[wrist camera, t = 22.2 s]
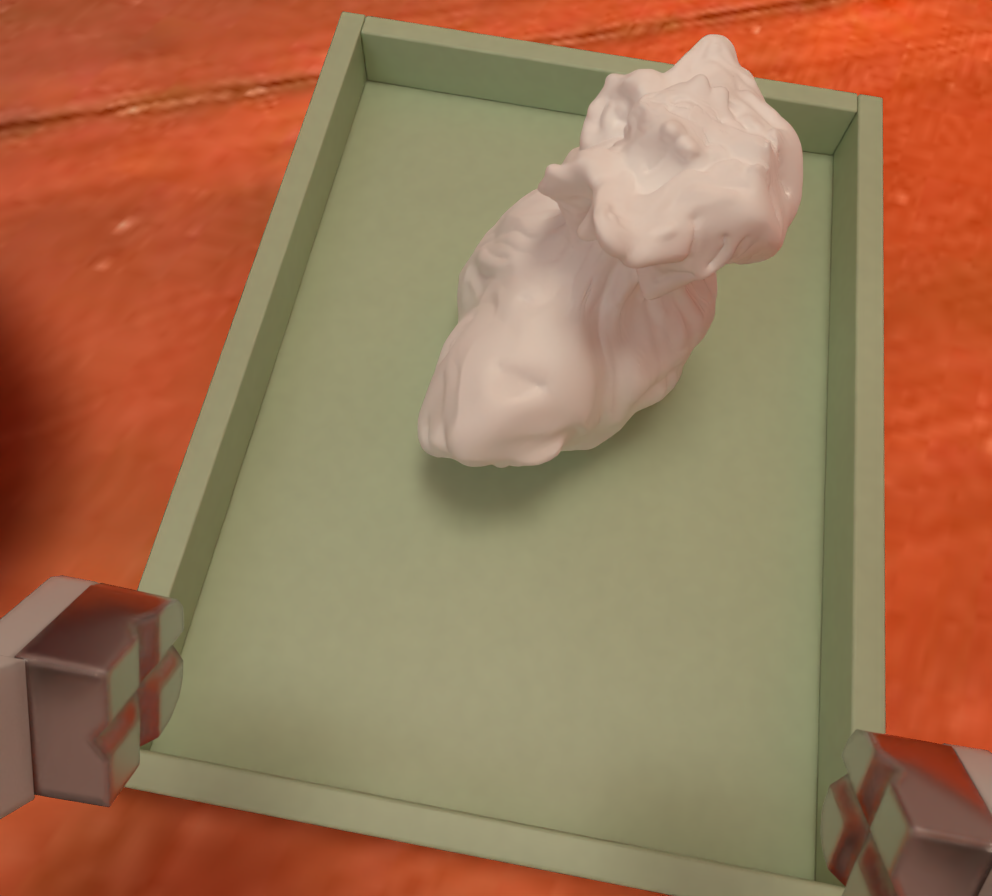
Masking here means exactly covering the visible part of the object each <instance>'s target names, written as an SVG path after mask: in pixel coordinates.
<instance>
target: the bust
mask: <svg viewBox="0 0 992 896" xmlns="http://www.w3.org/2000/svg"><path fill="white" fill-rule="evenodd" d="M802 185H803V153H802V147H801V143H800V140H799V137H798V135H797V133H796V132H795V130H794V129H793V127H792V126H791V125H790V124H789V123H788V122H787V121H786V120H785V119H784V118H783V117H781V116H780V114H779V113H778V112H777V111H776V110H775V109H773V108H772V107H771V106H770V105H768V104H767V103H766V102H765V99H764V97H763V95H762V94H761V92H760V90H759V88H758V86H757V83H756V81H755V79H754V77H753V75H752V74H751V73H750V72H749V71H748V70H746V69H745V68H743V67H741V66H740V64H739V62H738V60H737V55H736V51H735V49H734V46H733V44H732V43H731V41H730V40H729V39H727V38H726V37H724V36H722V35H717V34H711V35H706V36H704V37H703V38H702V39H700V40H699V41H698V43H697V44H696V45H694V46H693V47H692V48H691V49H690V50H689V51H688V52H687V53H686V54H685V55H684V56H683V57H682V58H681V59H680V60H679V61H678V62H677V63H676V64H675V65H674V66H673V67H672V68H671V69H669V70H668V71H666V72H665V73H661V72H658V71H656V70H653V69H638V70H634V71H633V72H631V73H629V74H625V75H623V74H616V73H613V74H610V75H608V76H607V77H606V80H605V84H604V87H603V88H602V90H601V91H600V93H599V94H598V96H597V97H596V98H595V99H594V100H593V101H592V102H591V104H590V105H589V107H588V110H587V116H586V118H585V120H584V123H583V128H582V131H581V135H580V147H577V148H574V149H572V150H571V151H570V152H569V153H568V155H567V156H566V158H565V159H564V161H563V163H562V164H561V165H558V164H550V165H549V166H547V168H546V170H545V176H544V178H543V179H542V181H541V182H540V183H539V185H538V188H537V189H535V190H533V191H531V192H530V193H528V194H527V195H525V196H524V197H522V198H521V199H520V200H519V201H517V202H516V203H515V204H514V205H513V206H512V207H510V208H509V209H508V210H507V211H506V212H505V213H504V214H503V215H502V216H501V218H500V219H499V220H498V221H497V223H496V224H495V225H494V226H493V227H492V228H491V229H490V230H489V231H487V232H486V234H485V235H484V237H483V238H482V240H481V241H480V243H479V244H478V246H477V247H476V248H475V250H474V252H473V254H472V255H471V257H470V258H469V260H468V261H467V263H466V264H465V266H464V267H463V268H462V270H461V272H460V274H459V283H458V291H457V305H458V324H457V325H456V327H455V328H454V329H453V331H452V332H451V333H450V335H449V336H448V338H447V339H446V341H445V343H444V345H443V347H442V350H441V353H440V356H439V359H438V362H437V364H436V368H435V372H434V374H433V376H432V379H431V381H430V384H429V387H428V390H427V392H426V395H425V398H424V401H423V404H422V406H421V409H420V412H419V417H418V426H417V428H418V430H417V432H418V439H419V442H420V445H421V447H422V449H423V450H424V451H425V452H426V453H427V454H429V455H432V456H435V457H437V458H438V457H439V458H440V457H443V458H452V459H454V460H456V461H458V462H460V463H461V464H463V465H465V466H469V467H482V466H487V465H494V466H496V467H498V468H505V467H507V466H517V467H520V466H535V465H540V464H543V463H545V462H548V461H550V460H552V459H553V458H554V457H556V456H558V454H559V453H560V451H573V450H589V449H592V448H595V447H597V446H598V445H600V444H601V443H603V442H604V441H606V440H607V439H609V438H610V437H612V436H613V435H614V434H615V433H617V432H618V431H620V430H621V429H622V427H623V426H624V425H625V424H626V422H627V421H628V420H629V419H630V418H631V417H632V416H633V415H634V413H636V412H637V411H639V410H642V409H644V408H647V407H649V406H651V405H653V404H655V403H657V402H659V401H661V400H662V399H663V398H664V397H665V396H666V395H667V394H668V393H669V392H670V391H671V390H672V389H673V388H674V387H675V385H676V384H677V382H678V380H679V378H680V376H681V374H682V369H683V366H684V364H685V363H686V361H687V359H688V358H689V356H690V354H691V352H692V350H693V349H694V348H695V346H696V345H698V344H699V342H700V341H701V340H702V339H703V338H704V336H705V335H706V333H707V331H708V329H709V328H710V325H711V323H712V321H713V319H714V316H715V306H716V298H717V289H718V288H717V275H716V271H717V270H719V269H720V268H722V267H723V266H724V265H725V264H732V263H736V264H740V265H741V264H751V263H758V262H762V261H765V260H767V259H769V258H771V257H773V256H774V255H775V254H776V253H777V252H778V251H779V250H780V248H781V247H782V245H783V242H784V239H785V235H786V232H787V229H788V227H789V226H790V224H791V222H792V221H793V219H794V217H795V215H796V213H797V211H798V208H799V205H800V202H801V197H802Z"/></svg>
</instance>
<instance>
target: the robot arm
mask: <svg viewBox="0 0 992 896" xmlns="http://www.w3.org/2000/svg"><path fill="white" fill-rule="evenodd" d="M183 630H184V615H183V606H182V604H181V603H180V602H179V600H178V599H175V598H170V597H165V596H161V595H156V594H151V593H147V592H142V591H137V590H132V589H128V588H123V587H118V586H114V585H109V584H104V583H97V582H94V581H89V580H84V579H79V578H73V577H68V576H63V575H61V576H54V577H50V578H49V579H47V580H46V581H45V582H44V583H43V584H42V585H40V586H39V587H38V588H37V589H36V590H34V591H33V592H32V593H31V594H30V595H28V596H27V597H26V598H25V599H24V600H22V601H21V602H20V603H19V604H18V605H17V606H15V607H14V608H13V609H12V610H11V611H9V612H8V613H7V614H6V615H5V616H3V617H2V618H1V619H0V819H2V818H3V817H5V816H7V815H8V814H10V813H12V812H13V811H15V810H17V809H18V808H20V807H22V806H23V805H25V804H27V803H28V802H30V801H32V800H33V799H34V798H35V797H34V795H40V796H46V797H52V798H58V799H63V800H69V801H75V802H81V803H87V804H93V805H99V806H105V807H110V806H111V805H112V803H113V802H114V800H115V799H116V798H117V796H118V795H119V793H120V792H121V791H122V789H123V788H124V786H125V785H126V783H127V782H128V781H129V779H130V778H131V776H132V775H133V773H134V772H135V771H136V769H137V768H138V766H139V765H140V746H142V745H144V744H146V743H148V742H150V741H152V740H155V739H157V738H159V736H160V735H161V733H162V732H163V730H164V729H165V727H166V726H167V724H168V723H169V721H170V719H171V717H172V714H173V712H174V709H175V707H176V704H177V702H178V699H179V696H180V691H181V686H182V680H183V659H182V658H181V656H180V655H179V653H178V652H177V650H176V649H175V647H174V646H173V643H174V642H175V641H176V639H177V638H178V637H179V635H180V634H181V633H182V632H183ZM841 756H842V759H843V761H844V764H845V767H846V769H847V772H848V773H847V774H846V775H844V776H843V777H841V778H840V779H838V780H837V781H835V782H834V783H832V784H831V785H830V786H829V789H828V792H827V794H826V797H825V800H824V803H823V806H822V814H821V825H820V836H821V844H822V851H823V854H824V858H825V861H826V864H827V868H828V870H829V871H830V872H831V873H832V874H833V875H834V876H835V877H836V878H837V879H838V880H839V881H840V882H841V883H842V884H843V885H844V886H845V889H844V891H843V894H842V896H992V753H991V752H989V751H988V750H983V749H976V748H970V747H964V746H957V745H951V744H945V743H944V744H938V743H932V742H927V741H921V740H915V739H910V738H904V737H899V736H893V735H888V734H882V733H877V732H871V731H865V730H860V729H856V730H855V731H854V732H853V733H852V735H851V736H850V737H849V738H848V740H847V743H846V745H845V747H844V750H843V752H842V755H841Z"/></svg>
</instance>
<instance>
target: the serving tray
mask: <svg viewBox="0 0 992 896" xmlns="http://www.w3.org/2000/svg"><path fill="white" fill-rule="evenodd" d="M673 66H674V65H673V64H667V63H661V62H655V61H648V60H642V59H636V58H630V57H623V56H617V55H611V54H604V53H598V52H592V51H586V50H579V49H573V48H567V47H560V46H554V45H548V44H542V43H535V42H529V41H523V40H516V39H510V38H504V37H498V36H491V35H485V34H479V33H472V32H466V31H460V30H454V29H447V28H441V27H435V26H428V25H422V24H416V23H410V22H403V21H397V20H391V19H384V18H378V17H372V16H367V17H365V15H361V14H355V13H349V12H342V14H341V17H340V19H339V22H338V25H337V28H336V31H335V33H334V36H333V39H332V42H331V45H330V48H329V50H328V53H327V56H326V59H325V62H324V65H323V67H322V70H321V73H320V76H319V79H318V81H317V84H316V87H315V90H314V93H313V96H312V98H311V101H310V104H309V107H308V110H307V112H306V115H305V118H304V121H303V124H302V127H301V129H300V132H299V135H298V138H297V141H296V144H295V146H294V149H293V152H292V155H291V158H290V160H289V163H288V166H287V169H286V172H285V175H284V177H283V180H282V183H281V186H280V189H279V191H278V194H277V197H276V200H275V203H274V206H273V208H272V211H271V214H270V217H269V220H268V223H267V225H266V228H265V231H264V234H263V237H262V239H261V242H260V245H259V248H258V251H257V254H256V256H255V259H254V262H253V265H252V268H251V271H250V273H249V276H248V279H247V282H246V285H245V287H244V290H243V293H242V296H241V299H240V302H239V304H238V307H237V310H236V313H235V316H234V318H233V321H232V324H231V327H230V330H229V333H228V335H227V338H226V341H225V344H224V347H223V350H222V352H221V355H220V358H219V361H218V364H217V366H216V369H215V372H214V375H213V378H212V381H211V383H210V386H209V389H208V392H207V395H206V397H205V400H204V403H203V406H202V409H201V412H200V414H199V417H198V420H197V423H196V426H195V429H194V431H193V434H192V437H191V440H190V443H189V445H188V448H187V451H186V454H185V457H184V460H183V462H182V465H181V468H180V471H179V474H178V476H177V479H176V482H175V485H174V488H173V491H172V493H171V496H170V499H169V502H168V505H167V508H166V510H165V513H164V516H163V519H162V522H161V524H160V527H159V530H158V533H157V536H156V539H155V541H154V544H153V547H152V550H151V553H150V555H149V558H148V561H147V564H146V567H145V570H144V572H143V575H142V578H141V581H140V584H139V587H138V589H137V591H142V592H147V593H151V594H156V595H161V596H165V597H170V598H175V599H178V600H179V602H180V603H181V604H182V606H183V615H184V630H183V632H182V633H181V634H180V635H179V637H178V638H177V639H176V641H175V642H174V643H173V646H174V647H175V649H176V650H177V652H178V653H179V655H180V656H181V658H182V659H183V680H182V686H181V691H180V696H179V699H178V702H177V704H176V707H175V709H174V712H173V714H172V717H171V719H170V721H169V723H168V724H167V726H166V727H165V729H164V730H163V732H162V733H161V735H160V736H159V738H157V739H155V740H152V741H150V742H148V743H146V744H144V745H142V746H140V765H139V766H138V768H137V769H136V771H135V772H134V773H133V775H132V776H131V778H130V779H129V781H128V782H127V783H126V785H125V786H124V787H126V788H131V789H136V790H141V791H146V792H151V793H156V794H161V795H166V796H171V797H176V798H181V799H186V800H191V801H196V802H202V803H207V804H212V805H217V806H222V807H227V808H232V809H237V810H242V811H247V812H252V813H257V814H262V815H267V816H272V817H277V818H282V819H288V820H293V821H298V822H303V823H308V824H313V825H318V826H323V827H328V828H333V829H338V830H343V831H348V832H353V833H358V834H363V835H368V836H373V837H379V838H384V839H389V840H394V841H399V842H404V843H409V844H414V845H419V846H424V847H429V848H434V849H439V850H444V851H449V852H454V853H459V854H464V855H470V856H475V857H480V858H485V859H490V860H495V861H500V862H505V863H510V864H515V865H520V866H525V867H530V868H535V869H540V870H545V871H550V872H555V873H561V874H566V875H571V876H576V877H581V878H586V879H591V880H596V881H601V882H606V883H611V884H616V885H621V886H626V887H631V888H636V889H641V890H646V891H652V892H657V893H662V894H667V895H672V896H842V894H843V891H844V889H845V886H844V885H843V884H842V883H841V882H840V881H839V880H838V879H837V878H836V877H835V876H834V875H833V874H832V873H831V872H830V871H829V870H828V868H827V864H826V861H825V858H824V854H823V851H822V844H821V836H820V825H821V814H822V806H823V803H824V800H825V797H826V794H827V792H828V789H829V786H830V785H831V784H832V783H834V782H835V781H837V780H838V779H840V778H841V777H843V776H844V775H846V774H847V773H848V772H847V769H846V767H845V764H844V761H843V759H842V756H841V755H842V752H843V750H844V747H845V745H846V743H847V740H848V738H849V737H850V736H851V735H852V733H853V732H854V731H855V730H856V729H860V730H865V731H871V732H877V733H882V734H885V517H884V291H883V99H882V98H881V97H874V96H868V95H862V94H860V95H858V97H857V94H856V93H849V92H843V91H837V90H831V89H824V88H818V87H812V86H805V85H799V84H793V83H787V82H780V81H774V80H768V79H761V78H755V77H754V79H755V81H756V83H757V86H758V88H759V90H760V92H761V94H762V95H763V97H764V99H765V102H766V103H767V104H768V105H770V106H771V107H772V108H773V109H775V110H776V111H777V112H778V113H779V114H780V116H781V117H783V118H784V119H785V120H786V121H787V122H788V123H789V124H790V125H791V126H792V127H793V129H794V130H795V132H796V133H797V135H798V137H799V140H800V143H801V147H802V153H803V185H802V197H801V202H800V205H799V208H798V211H797V213H796V215H795V217H794V219H793V221H792V222H791V224H790V226H789V227H788V229H787V232H786V235H785V239H784V242H783V245H782V247H781V248H780V250H779V251H778V252H777V253H776V254H775V255H774V256H773V257H771V258H769V259H767V260H765V261H762V262H758V263H751V264H741V265H740V264H736V263H732V264H725V265H724V266H723V267H722V268H720V269H719V270H717V271H716V275H717V288H718V289H717V298H716V306H715V316H714V319H713V321H712V323H711V325H710V328H709V329H708V331H707V333H706V335H705V336H704V338H703V339H702V340H701V341H700V342H699V344H698V345H696V346H695V348H694V349H693V350H692V352H691V354H690V356H689V358H688V359H687V361H686V363H685V364H684V366H683V369H682V374H681V376H680V378H679V380H678V382H677V384H676V385H675V387H674V388H673V389H672V390H671V391H670V392H669V393H668V394H667V395H666V396H665V397H664V398H663V399H662V400H661V401H659V402H657V403H655V404H653V405H651V406H649V407H647V408H644V409H642V410H639V411H637V412H636V413H634V415H633V416H632V417H631V418H630V419H629V420H628V421H627V422H626V424H625V425H624V426H623V427H622V429H621V430H620V431H618V432H617V433H615V434H614V435H613V436H612V437H610V438H609V439H607V440H606V441H604V442H603V443H601V444H600V445H598V446H597V447H595V448H592V449H589V450H573V451H560V453H559V454H558V456H556V457H554V458H553V459H552V460H550V461H548V462H545V463H543V464H540V465H535V466H520V467H517V466H507V467H505V468H498V467H496V466H494V465H487V466H482V467H469V466H465V465H463V464H461V463H460V462H458V461H456V460H454V459H452V458H443V457H440V458H439V457H438V458H437V457H435V456H432V455H429V454H427V453H426V452H425V451H424V450H423V449H422V447H421V445H420V442H419V439H418V432H417V430H418V428H417V426H418V417H419V412H420V409H421V406H422V404H423V401H424V398H425V395H426V392H427V390H428V387H429V384H430V381H431V379H432V376H433V374H434V372H435V368H436V364H437V362H438V359H439V356H440V353H441V350H442V347H443V345H444V343H445V341H446V339H447V338H448V336H449V335H450V333H451V332H452V331H453V329H454V328H455V327H456V325H457V324H458V305H457V291H458V283H459V274H460V272H461V270H462V268H463V267H464V266H465V264H466V263H467V261H468V260H469V258H470V257H471V255H472V254H473V252H474V250H475V248H476V247H477V246H478V244H479V243H480V241H481V240H482V238H483V237H484V235H485V234H486V232H487V231H489V230H490V229H491V228H492V227H493V226H494V225H495V224H496V223H497V221H498V220H499V219H500V218H501V216H502V215H503V214H504V213H505V212H506V211H507V210H508V209H509V208H510V207H512V206H513V205H514V204H515V203H516V202H517V201H519V200H520V199H521V198H522V197H524V196H525V195H527V194H528V193H530V192H531V191H533V190H535V189H537V188H538V185H539V183H540V182H541V181H542V179H543V178H544V176H545V170H546V168H547V166H549V165H550V164H558V165H561V164H562V163H563V161H564V159H565V158H566V156H567V155H568V153H569V152H570V151H571V150H572V149H574V148H577V147H580V135H581V131H582V128H583V123H584V120H585V118H586V116H587V110H588V107H589V105H590V104H591V102H592V101H593V100H594V99H595V98H596V97H597V96H598V94H599V93H600V91H601V90H602V88H603V87H604V84H605V80H606V77H607V76H608V75H610V74H613V73H616V74H623V75H625V74H629V73H631V72H633V71H634V70H638V69H653V70H656V71H658V72H661V73H665V72H666V71H668V70H669V69H671V68H672V67H673Z"/></svg>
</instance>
